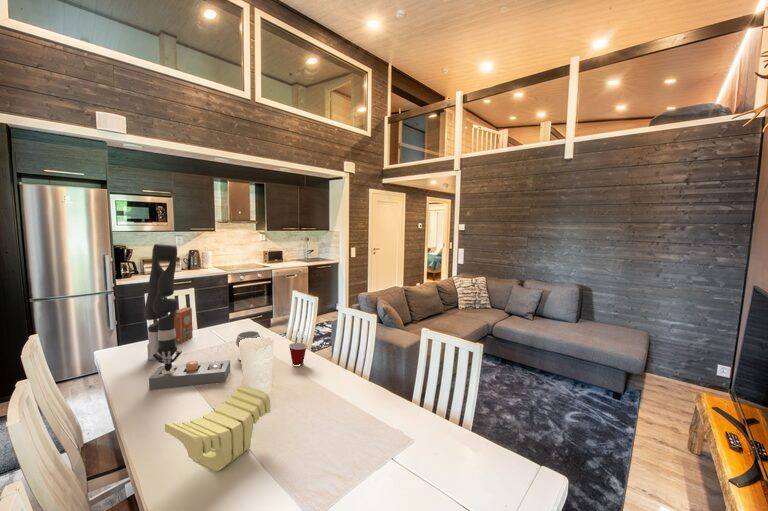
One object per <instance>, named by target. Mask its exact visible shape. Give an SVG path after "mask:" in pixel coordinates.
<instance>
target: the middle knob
mask: <svg viewBox="0 0 768 511" xmlns="http://www.w3.org/2000/svg"><path fill="white" fill-rule="evenodd" d="M198 363H199V361H198V360H197V361H196V360H191V361H188V362H186V363H185V364H186V372H191V371H198Z"/></svg>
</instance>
